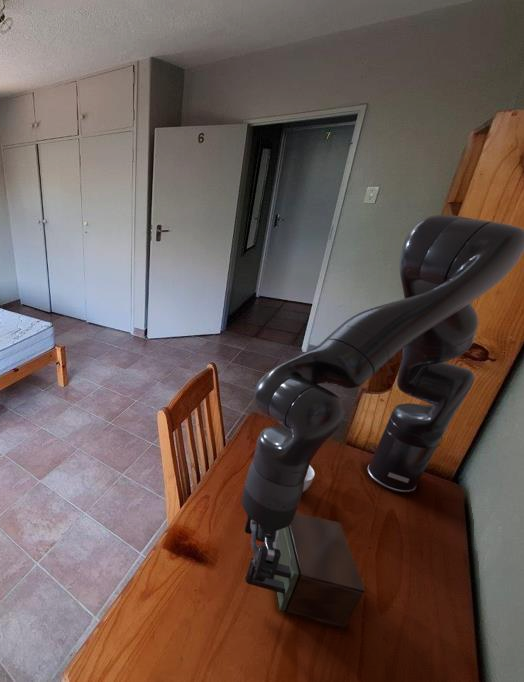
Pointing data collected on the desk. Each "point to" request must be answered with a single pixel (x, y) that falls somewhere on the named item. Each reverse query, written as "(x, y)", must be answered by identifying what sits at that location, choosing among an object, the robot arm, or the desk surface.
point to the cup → (308, 478)
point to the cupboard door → (281, 571)
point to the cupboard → (323, 572)
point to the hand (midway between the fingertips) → (253, 553)
